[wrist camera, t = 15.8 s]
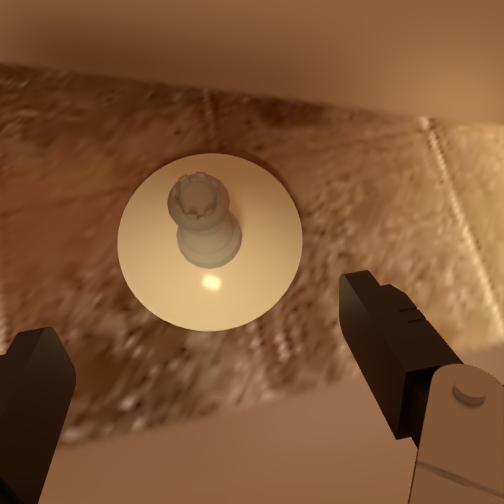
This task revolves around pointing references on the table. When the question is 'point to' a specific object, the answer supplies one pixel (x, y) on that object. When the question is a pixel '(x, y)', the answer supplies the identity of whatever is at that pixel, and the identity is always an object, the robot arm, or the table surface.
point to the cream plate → (217, 279)
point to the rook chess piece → (204, 220)
